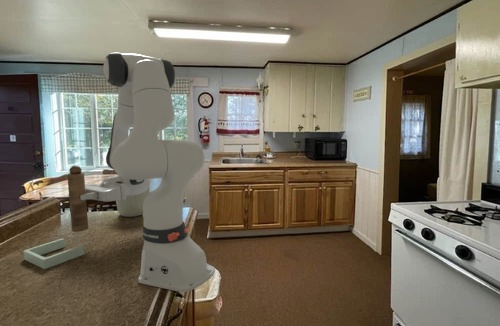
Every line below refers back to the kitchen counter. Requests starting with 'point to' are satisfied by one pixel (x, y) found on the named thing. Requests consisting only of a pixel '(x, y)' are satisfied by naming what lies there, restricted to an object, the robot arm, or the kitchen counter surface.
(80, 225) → the pepper mill
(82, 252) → the box
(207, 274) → the robot arm
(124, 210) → the canister
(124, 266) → the kitchen counter surface
